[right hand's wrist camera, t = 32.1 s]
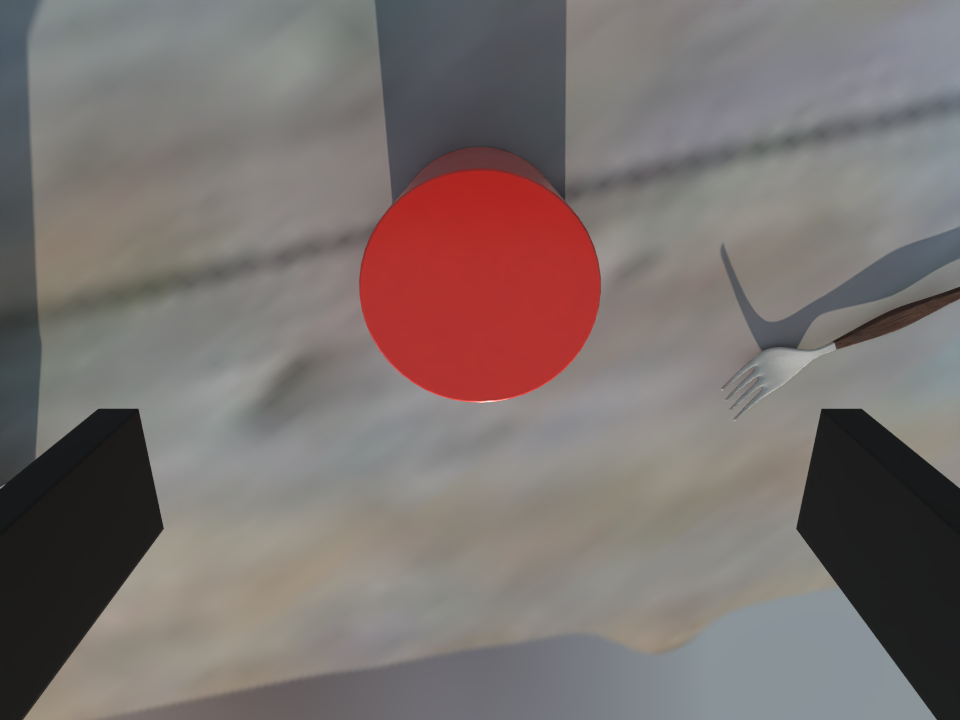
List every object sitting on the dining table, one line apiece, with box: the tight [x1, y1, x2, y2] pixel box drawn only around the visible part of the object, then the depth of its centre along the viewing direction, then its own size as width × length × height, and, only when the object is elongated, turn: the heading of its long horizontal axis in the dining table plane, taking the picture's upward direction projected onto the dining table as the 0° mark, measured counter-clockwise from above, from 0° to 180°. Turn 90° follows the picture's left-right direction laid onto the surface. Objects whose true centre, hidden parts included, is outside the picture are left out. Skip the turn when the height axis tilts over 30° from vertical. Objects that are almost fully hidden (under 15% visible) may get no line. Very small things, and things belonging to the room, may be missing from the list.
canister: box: [359, 147, 601, 402], centre depth 30 cm, size 9×9×12 cm
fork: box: [721, 287, 960, 421], centre depth 37 cm, size 3×16×2 cm, turn 116°
